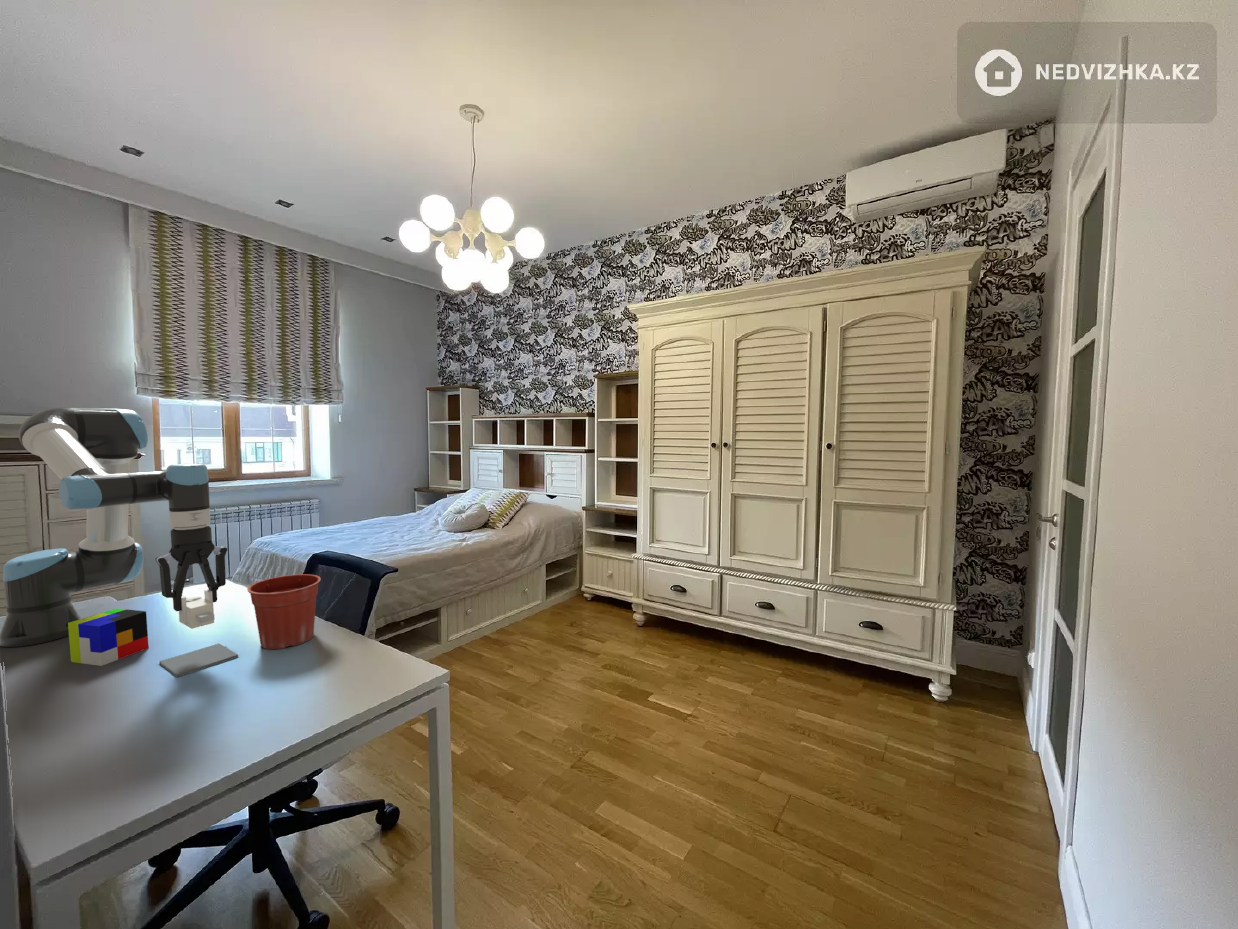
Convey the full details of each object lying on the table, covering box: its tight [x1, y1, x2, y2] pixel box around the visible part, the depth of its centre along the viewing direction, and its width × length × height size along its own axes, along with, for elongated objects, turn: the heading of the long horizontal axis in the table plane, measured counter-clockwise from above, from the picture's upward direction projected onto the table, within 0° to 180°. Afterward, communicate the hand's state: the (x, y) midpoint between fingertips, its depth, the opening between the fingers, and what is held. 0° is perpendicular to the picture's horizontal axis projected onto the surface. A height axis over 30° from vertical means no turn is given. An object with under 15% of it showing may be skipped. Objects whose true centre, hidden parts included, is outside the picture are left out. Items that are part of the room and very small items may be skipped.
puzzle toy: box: [68, 608, 150, 667], centre depth 124 cm, size 10×10×10 cm
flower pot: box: [246, 573, 321, 650], centre depth 133 cm, size 16×16×16 cm
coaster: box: [158, 643, 239, 678], centre depth 122 cm, size 12×12×1 cm
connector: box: [178, 596, 215, 630], centre depth 121 cm, size 13×4×5 cm, turn 58°
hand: (196, 618), depth 121 cm, fingers closed on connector, 4 cm apart
